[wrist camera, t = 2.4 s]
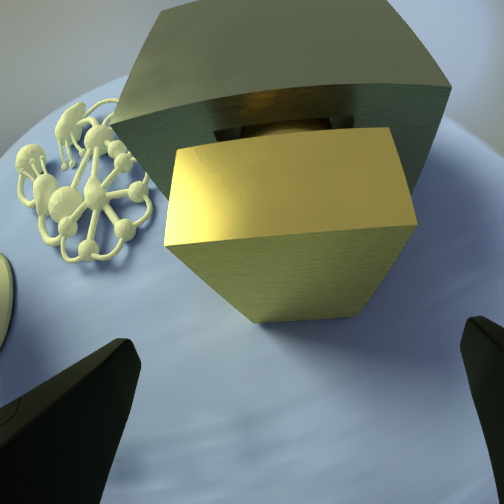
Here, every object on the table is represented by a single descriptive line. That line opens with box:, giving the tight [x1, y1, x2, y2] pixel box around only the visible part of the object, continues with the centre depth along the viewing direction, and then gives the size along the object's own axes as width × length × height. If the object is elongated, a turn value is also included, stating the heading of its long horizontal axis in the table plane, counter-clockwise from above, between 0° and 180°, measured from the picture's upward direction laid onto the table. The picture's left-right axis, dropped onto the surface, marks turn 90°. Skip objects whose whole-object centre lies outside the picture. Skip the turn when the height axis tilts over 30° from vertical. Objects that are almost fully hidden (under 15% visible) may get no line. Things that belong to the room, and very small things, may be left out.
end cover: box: [164, 117, 418, 323], centre depth 14 cm, size 11×6×12 cm, turn 1°
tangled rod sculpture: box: [16, 98, 153, 264], centre depth 25 cm, size 19×14×4 cm
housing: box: [109, 0, 452, 201], centre depth 16 cm, size 10×12×12 cm
